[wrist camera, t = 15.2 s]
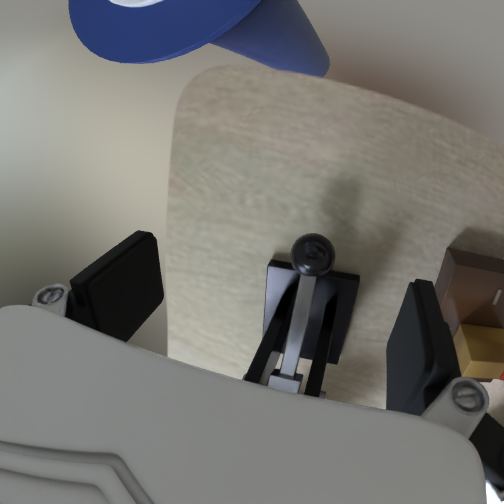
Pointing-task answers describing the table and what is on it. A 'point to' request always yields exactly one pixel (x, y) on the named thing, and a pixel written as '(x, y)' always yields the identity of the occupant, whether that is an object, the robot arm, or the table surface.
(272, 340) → the handle bracket
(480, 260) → the lock plate
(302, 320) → the door lever
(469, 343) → the thumb turn
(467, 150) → the table surface
